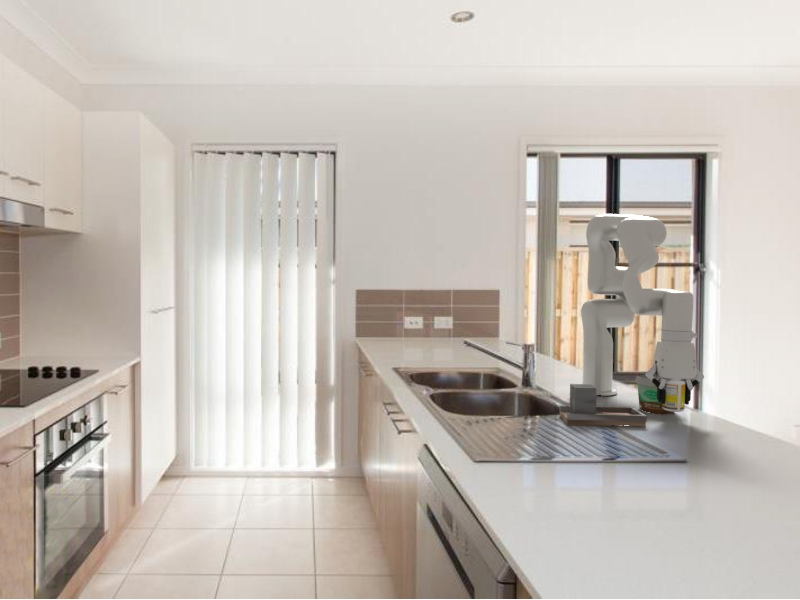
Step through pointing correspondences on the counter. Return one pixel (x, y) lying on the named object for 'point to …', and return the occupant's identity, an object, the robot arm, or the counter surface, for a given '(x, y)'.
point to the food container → (649, 397)
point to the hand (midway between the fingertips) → (673, 402)
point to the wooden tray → (596, 410)
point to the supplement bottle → (674, 395)
